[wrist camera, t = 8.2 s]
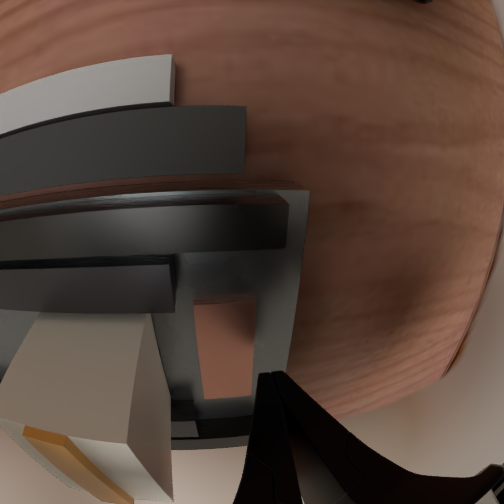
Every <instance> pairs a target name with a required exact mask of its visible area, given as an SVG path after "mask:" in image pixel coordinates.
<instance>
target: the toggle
mask: <svg viewBox="0 0 504 504" xmlns="http://www.w3.org/2000/svg"><path fill="white" fill-rule="evenodd" d="M0 427H1V428H2V429H3V430H4V431H5V432H6V433H7V434H8V435H9V436H10V437H11V438H12V439H13V440H14V441H15V442H16V443H17V444H18V445H19V446H20V447H21V448H22V449H23V450H24V451H25V452H27V453H28V454H29V455H30V456H31V457H32V458H33V459H34V460H35V461H37V462H38V463H39V464H40V465H41V466H42V467H44V468H45V469H46V470H47V471H49V472H50V473H51V474H52V475H54V476H55V477H56V478H58V479H59V480H60V481H62V482H63V483H64V484H66V485H67V486H68V487H70V488H74V489H79V490H83V491H87V492H89V493H91V494H92V495H93V496H95V497H96V498H98V499H99V500H101V501H103V502H109V503H115V504H134V499H137V500H148V501H164V502H173V501H174V499H173V484H172V464H171V395H170V392H169V388H168V385H167V381H166V377H165V374H164V370H163V366H162V362H161V358H160V354H159V349H158V345H157V341H156V336H155V332H154V327H153V322H152V317H151V313H146V314H87V313H53V312H41V313H40V314H39V316H38V317H37V319H36V320H35V322H34V324H33V325H32V327H31V328H30V330H29V332H28V333H27V335H26V337H25V338H24V340H23V342H22V344H21V345H20V347H19V349H18V351H17V352H16V354H15V356H14V358H13V360H12V362H11V363H10V365H9V367H8V369H7V371H6V373H5V375H4V377H3V379H2V381H1V383H0Z"/></svg>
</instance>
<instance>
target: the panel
mask: <svg viewBox="0 0 504 504" xmlns="http://www.w3.org/2000/svg"><path fill="white" fill-rule="evenodd" d="M309 194H310V190H308V189H306V188H305V187H303V186H301V185H299V184H298V183H296V182H294V181H190V182H167V183H150V184H136V185H123V186H112V187H101V188H92V189H83V190H74V191H67V192H59V193H52V194H45V195H38V196H32V197H26V198H20V199H15V200H9V201H4V202H0V383H1V381H2V379H3V377H4V375H5V373H6V371H7V369H8V367H9V365H10V363H11V362H12V360H13V358H14V356H15V354H16V352H17V351H18V349H19V347H20V345H21V344H22V342H23V340H24V338H25V337H26V335H27V333H28V332H29V330H30V328H31V327H32V325H33V324H34V322H35V320H36V319H37V317H38V316H39V314H40V313H41V312H53V313H87V314H146V313H151V317H152V322H153V327H154V332H155V336H156V341H157V345H158V349H159V354H160V358H161V362H162V366H163V370H164V374H165V377H166V381H167V385H168V388H169V392H170V395H171V450H197V449H215V448H228V447H239V446H248V440H249V433H250V427H251V420H252V414H253V407H254V400H255V393H256V386H257V379H258V374H259V373H263V372H270V373H271V372H272V371H279V370H282V371H284V372H285V373H286V367H287V361H288V356H289V350H290V344H291V337H292V331H293V325H294V318H295V312H296V305H297V298H298V291H299V283H300V276H301V268H302V260H303V252H304V243H305V234H306V225H307V215H308V205H309Z"/></svg>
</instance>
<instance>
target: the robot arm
mask: <svg viewBox="0 0 504 504" xmlns="http://www.w3.org/2000/svg"><path fill="white" fill-rule="evenodd" d="M417 1H419V2H421V3H424V4H425V3H429V2H432V0H417ZM301 496H302V498H303V501H304V503H305V504H504V463H503V464H502V465H497V464H490V465H489V466H487V467H486V468H484V469H483V470H482V471H480V472H479V473H478V474H477V475H475V476H473V477H466V478H458V477H439V476H426V475H420V474H415V473H412V472H410V471H408V470H406V469H404V468H402V467H400V466H399V465H397V464H395V463H393V462H392V461H390V460H388V459H387V458H385V457H383V456H381V455H380V454H379V453H377V452H376V451H374V450H372V449H371V448H370V447H368V446H367V445H366V444H364V443H363V442H361V441H360V440H359V439H358V438H357V437H356V436H354V435H353V434H352V433H351V432H349V431H348V430H347V429H346V428H345V427H344V426H343V425H341V424H340V423H339V422H338V421H337V420H336V419H335V418H333V417H332V416H331V415H330V414H329V413H328V412H327V411H326V410H325V409H323V408H322V407H321V406H320V405H319V404H318V403H317V402H316V401H315V400H314V399H312V398H311V397H310V396H309V395H308V394H307V393H306V392H305V391H304V390H303V389H302V388H301V387H300V386H298V385H297V384H296V383H295V382H294V381H293V380H292V379H291V378H290V377H289V376H288V375H287V374H286V373H285V372H284V371H282V370H279V371H272V372H271V373H270V372H263V373H259V374H258V379H257V386H256V393H255V400H254V407H253V414H252V420H251V427H250V433H249V440H248V446H247V452H246V458H245V464H244V470H243V474H242V478H241V481H240V484H239V488H238V491H237V493H236V496H235V499H234V502H233V504H303V503H302V498H301Z"/></svg>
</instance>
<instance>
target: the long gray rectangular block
mask: <svg viewBox="0 0 504 504" xmlns="http://www.w3.org/2000/svg"><path fill="white" fill-rule="evenodd" d="M175 71H176V64H175V62H174V59H173V56H172V54H167V55H155V56H145V57H137V58H129V59H122V60H116V61H110V62H105V63H99V64H95V65H90V66H85V67H81V68H77V69H73V70H69V71H65V72H62V73H58V74H55V75H51V76H48V77H45V78H42V79H39V80H36V81H33V82H30V83H27V84H25V85H22V86H19V87H17V88H14V89H12V90H9V91H7V92H4V93H2V94H0V138H2V139H0V196H4V195H9V194H14V193H19V192H25V191H30V190H36V189H42V188H48V187H55V186H62V185H69V184H77V183H85V182H93V181H102V180H112V179H123V178H135V177H149V176H165V175H187V174H244V163H245V133H246V106H177V107H166V106H174V91H175ZM152 107H160V108H152ZM141 108H148V109H141ZM132 109H138V110H132ZM123 110H129V111H123ZM116 111H120V112H116ZM109 112H113V113H109ZM102 113H106V114H102ZM96 114H100V115H96ZM90 115H94V116H90ZM85 116H88V117H85ZM79 117H82V118H79ZM74 118H77V119H74ZM69 119H72V120H69ZM65 120H67V121H65ZM60 121H63V122H60ZM56 122H58V123H56ZM52 123H54V124H52ZM48 124H50V125H48ZM44 125H46V126H44ZM40 126H42V127H40ZM36 127H38V128H36ZM32 128H34V129H32ZM29 129H31V130H29ZM25 130H27V131H25ZM22 131H24V132H22ZM19 132H20V133H19ZM15 133H17V134H15ZM12 134H14V135H12ZM9 135H11V136H9ZM6 136H8V137H6ZM3 137H5V138H3Z"/></svg>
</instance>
